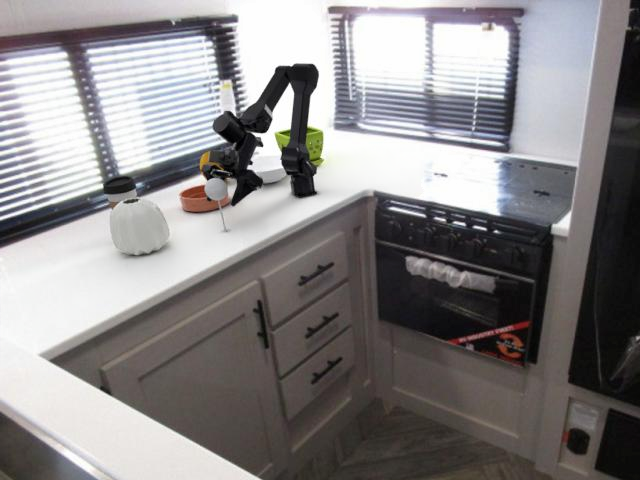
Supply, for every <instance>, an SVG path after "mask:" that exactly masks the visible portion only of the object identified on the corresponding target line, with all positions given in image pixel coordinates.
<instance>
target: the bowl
mask: <svg viewBox="0 0 640 480" xmlns="http://www.w3.org/2000/svg"><path fill="white" fill-rule="evenodd" d="M280 158H281V154H280V155H277V154H276V155H273V154H272V155H263V156H262V155H261V156H257V157H252V158H251V161H252V162H253V164H252V165H248V168H247V169H249V170H253V171H254V172H256V173H257V174H258V175H259V176H261V177H262V178H263V184H273V183H276V182H278V181H280V180H281V179H283V178H285V177H286V176H288V175H287V174H286V172H285V170H284V168H283V166H282V164H281V160H280Z"/></svg>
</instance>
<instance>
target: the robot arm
mask: <svg viewBox="0 0 640 480" xmlns="http://www.w3.org/2000/svg"><path fill="white" fill-rule="evenodd" d="M319 79H320V71H319V69H318V68H317V66H316V65H315V64H314V63H306V62H305V63H301V62H300V63H299V62H298V63H297V62H296V63H293V64H292V65H278V66H276V67H275V69H274V73H273V75H272V77H271V78H270V80H269V81H268V83H267V85H265V88H264V89H263V91H262V93H261V94H260V95H259V97H258V99H257V100H256V101H255V102H254V103H253V104H251V105H248V107H247V108H246V109H245V110H244V111H243V112H242V114H241V115H240V117H237V116H236V115H235V114H234V112H232V111H231V110H224V111H223V113H222V114H220V115H218V116H217V117H216V118H215V119H214V120H213V122H212V126H211V127H212V130H213V132H214V133H215V134H217V135H219V136H220V138H222V139H223V140H225V141H226V142H227V143H228V144H230V145H231V144H233V145H232V148H231V149H230V148H226V149H225V151H221V150H216V151H214V150H215V149H213V150H212V149H209V151H210V152H209V151H208V152H209V160H208V162H214V163H218V164H219V165H218V166H220V167H221V168H223V170H222V169H220V168H219V167H218V166H216V165H214V164H204V165H203V166H202V169H201V170H200V173H201V172H202V173H203V175H204V176H205V177H206V179H207V180H206V179H205V180H206V182H207V181H208V180H210V179H212V178H219V179H221V180H223V181H225V179H226V178H227V179H229V180H230V179H231V180H235V182H236V187H235V189H234V192H233V194H232V198H231V199H230V200H231V201H230V206H231V207H235V206H236V205H238V204H239V203H240V202H241V201H242V200H244V199H245V198H247V196H249V195H250V194H252V193H253V192H254V191H255V192H256V191H257V190H258V189H260V190H261V189H262V187H263V184H264V183H263V178H262V177H261V176H259V175H258V174H257V173H256V172H254V171H253V170H249V169H247V168H248V165H252V164H253V162H252V161H251V158H253V156H254V154H255V151H256V148H264V146H265V145H264V143H263V140H262V137H261V136H256V135H255V134H259V135H260V134H262V135H263V134H266V133H267V132H268V131H269V129H270V127H271V125H272V122H273V120H274V118H273V112H274V110H275V108H276V106H277V105H278V104H279V102H280V100H281V98H282V97H283V95H284V93H285V92H286V90H287V88H288V87H289V86H291V89H292V92H293V101H292V112H291V120H290V121H291V122H290V129H291V131H290V141H289V143H288V144H287V146H286V147H284V146H283V147H282V149H281V150H282V152H281V154H280V155H281V158H280V160H281V164H282V166H283V168H284V170H285V172H286V174H287V175H286V176H290V179H291V180H289V182H290V190H291V194H293V195H294V196H295V197H297V198H304V197H309V196H312V195H317V194H318V191H316V188H315V181H314V177H315V176H316V175H317V173H318V166H315V165H314V164H313V163H312V162H311V161H310V153H309V151H308V148H307V146H306V136H307V126H309V116H310V107H311V97H312V95H313V93H314V92H315V90H316V89H317V87H318V83H319ZM202 173H201V174H202ZM228 174H229V175H228ZM203 175H202V176H203ZM204 176H203V177H204ZM212 200H213V199H211V198H209V197H208V196H207V201H208V202H211V201H212Z"/></svg>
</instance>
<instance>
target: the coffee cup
mask: <svg viewBox="0 0 640 480" xmlns="http://www.w3.org/2000/svg"><path fill="white" fill-rule="evenodd" d="M102 187H103V193H104V194H105V195H106V198H107V203H108V204H109V206H110V209H111V211H112V210H113V209H114V207H115V206H116V205H117V204H118V203H120V202H121V201H123V200H125V199H130V198H137V197H138V198H139V196H138V193H137V184H136V183H135V181H134V178H133V177H132V176H130V175H121V176H116V177H113V178H111V179H109V180H107V181H105V182H104V183H102Z"/></svg>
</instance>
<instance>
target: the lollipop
mask: <svg viewBox="0 0 640 480" xmlns="http://www.w3.org/2000/svg"><path fill="white" fill-rule="evenodd" d="M204 185H205V193H206V194H207V196H208V197H209V198H211V199H213V200H218V203H219V208H218V209H219V211H220V217H221V221H222V225H223V230H224V232H227V227H226V223H225V218H224V214H223V208H222V207H221V204H220V200H221V199H223V198H224V197H225V196H226V195H227V192H228V193H229V191H228V189H229V188H228V185H227V183H226V182H224V181H223V180H221V179H219V178H212V179H210V180H208V181H207V180H206V183H205V184H204Z"/></svg>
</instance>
